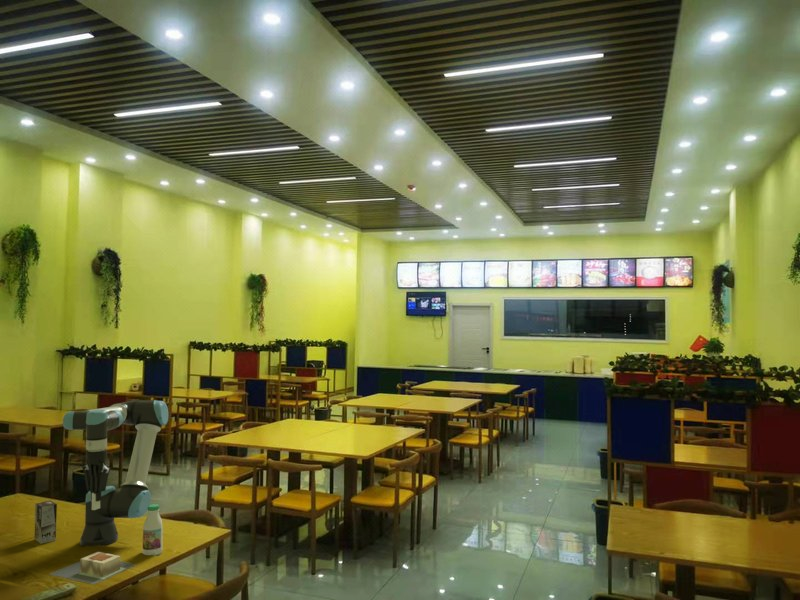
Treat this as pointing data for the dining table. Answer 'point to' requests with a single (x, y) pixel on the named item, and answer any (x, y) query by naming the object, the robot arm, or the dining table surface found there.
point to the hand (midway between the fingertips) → (95, 508)
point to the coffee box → (45, 521)
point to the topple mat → (75, 573)
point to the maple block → (100, 564)
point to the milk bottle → (152, 532)
